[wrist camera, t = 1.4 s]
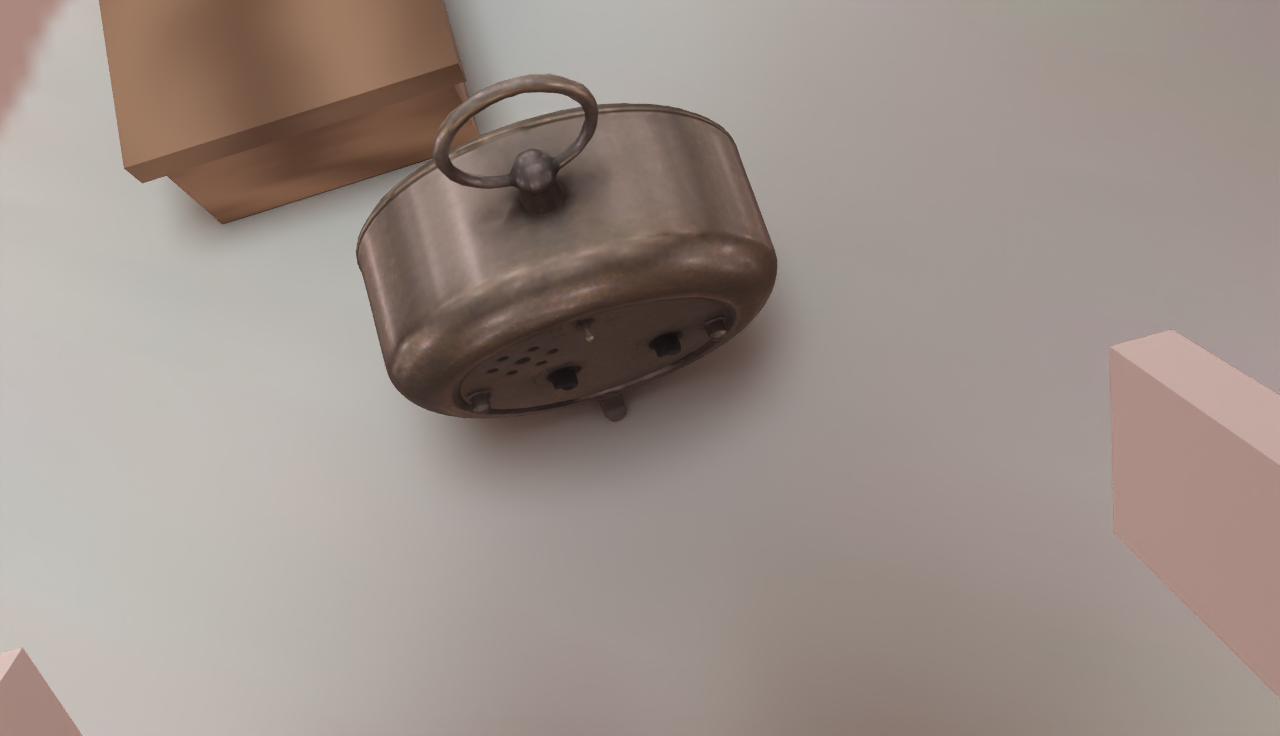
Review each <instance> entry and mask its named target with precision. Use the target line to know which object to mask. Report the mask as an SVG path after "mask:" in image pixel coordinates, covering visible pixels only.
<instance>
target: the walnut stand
mask: <svg viewBox="0 0 1280 736" xmlns="http://www.w3.org/2000/svg"><path fill="white" fill-rule="evenodd" d="M99 4H100V10H101V17H102V24H103V30H104V37H105V44H106V51H107V57H108V64H109V71H110V77H111V84H112V91H113V98H114V104H115V111H116V118H117V124H118V131H119V138H120V144H121V151H122V158H123V165H124V169H126V170H127V171H128V172H129V173H130V174H132V175H133V176H134V177H135V178H137V179H138V180H139V181H140V182H141V183H145V182H148V181H151V180H154V179H157V178H161V177H164V176H168V177H169V178H170V179H171V180H172V181H173V182H175V183H176V184H177V185H178V186H179V187H180V188H182V189H183V190H184V191H185V192H186V193H187V194H188V195H190V196H191V197H192V198H193V199H194V200H195V201H197V202H198V203H199V204H200V205H201V206H202V207H203V208H205V209H206V210H207V211H208V212H209V213H210V214H212V215H213V216H214V217H215V218H216V219H217V220H218V221H220V222H221V223H222V224H224V223H227V222H230V221H233V220H236V219H240V218H243V217H246V216H249V215H252V214H255V213H259V212H262V211H265V210H268V209H271V208H274V207H278V206H281V205H284V204H287V203H290V202H294V201H297V200H300V199H303V198H306V197H309V196H313V195H316V194H319V193H322V192H325V191H328V190H332V189H335V188H338V187H341V186H344V185H348V184H351V183H354V182H357V181H360V180H363V179H367V178H370V177H373V176H376V175H379V174H382V173H386V172H389V171H392V170H395V169H398V168H402V167H405V166H408V165H411V164H414V163H417V162H421V161H424V160H427V159H430V158H433V152H432V151H433V147H434V139H435V137H436V135H437V133H438V131H439V128H440V126H441V125H442V123H443V122H444V121H445V119H446V118H447V117H448V115H449V114H450V113H451V112H452V111H453V110H454V109H456V108H457V107H458V106H459V105H461V104H462V103H463V102H465V101H466V100H467V99H468V98H469V97H468V94H467V90H466V87H465V83H464V82H466V78H465V74H464V71H463V67H462V64H461V60H460V57H459V53H458V50H457V46H456V43H455V39H454V36H453V32H452V29H451V25H450V22H449V18H448V15H447V11H446V8H445V4H444V1H443V0H99ZM478 136H479V133H478V129H477V125H476V122H475V118H474V116H473V117H471V118H470V119H469V120H468V121H467V122H466V123H465V124H464V125H463V126H462V127H461V128H460V129H459V131H458V132H457V134H456V135H455V137H454V139H453V141H452V143H451V145H450V149H449V150H451V149H453V148H455V147H457V146H459V145H461V144H463V143H465V142H467V141H470V140H472V139H474V138H476V137H478Z"/></svg>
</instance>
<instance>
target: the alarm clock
mask: <svg viewBox="0 0 1280 736" xmlns="http://www.w3.org/2000/svg"><path fill="white" fill-rule="evenodd" d="M530 92H546V93H559V94H563V95H566V96H569V97H570V98H572V99H573V100H575V101H577V102H579V104H580V105H581V106H582V107H578V108H572V109H567V110H560V111H557V112H553V113H549V114H545V115H541V116H537V117H534V118H530V119H526V120H522V121H519V122H516V123H513V124H510V125H508V126H505V127H502V128H499V129H496V130H494V131H491V132H488V133H486V134H483V135H481V136H478V137H476V138H474V139H472V140H470V141H467V142H465V143H463V144H461V145H459V146H457V147H455V148H453V149H451V150H449V149H450V145H451V143H452V141H453V139H454V137H455V135H456V134H457V132H458V131H459V129H460V128H461V127H462V126H463V125H464V124H465V123H466V122H467V121H468V120H469V119H470V118H471V117H473V116H474V115H476V114H477V113H479V112H480V111H482V110H484V109H485V108H487V107H488V106H490V105H492V104H494V103H496V102H498V101H500V100H503V99H505V98H508V97H513V96H515V95H518V94H521V93H530ZM432 152H433V158H434V159H433V160H431V161H430V162H428V163H426V164H425V165H423V166H422V167H420V168H419V169H417V170H416V171H414V172H413V173H411V174H410V175H409V176H407V177H406V178H405V179H403V180H402V181H401V182H399V183H398V184H397V185H395V186H394V187H393V188H392V189H391V190H390V191H389V192H388V193H387V194H386V195H385V196H384V197H383V198H382V199H381V200H380V202H379V203H378V204H377V205H376V207H375V208H374V210H373V211H372V213H371V214H370V216H369V217H368V219H367V221H366V222H365V224H364V226H363V228H362V230H361V232H360V235H359V237H358V243H357V249H356V256H357V263H358V265H359V268H360V270H361V272H362V275H363V279H364V282H365V286H366V290H367V294H368V298H369V302H370V306H371V310H372V313H373V318H374V322H375V326H376V330H377V334H378V338H379V342H380V346H381V350H382V354H383V358H384V362H385V366H386V369H387V373H388V375H389V378H390V380H391V382H392V383H393V385H394V386H395V388H396V389H397V390H398V391H399V392H400V393H401V394H402V395H403V396H405V397H406V398H407V399H408V400H410V401H411V402H413V403H414V404H416V405H418V406H420V407H422V408H425V409H427V410H429V411H433V412H436V413H440V414H444V415H448V416H455V417H462V418H500V417H511V416H520V415H527V414H534V413H539V412H545V411H551V410H555V409H560V408H564V407H568V406H573V405H577V404H581V403H584V402H588V401H591V400H599V401H600V403H601V406H602V409H603V411H604V413H605V415H606V417H607V418H609V419H610V420H611V421H619V420H621V419H623V418H624V417H625V415H626V408H625V406H624V402H623V399H622V392H623V391H625V390H627V389H630V388H633V387H636V386H639V385H641V384H644V383H646V382H649V381H651V380H654V379H656V378H659V377H661V376H664V375H666V374H669V373H671V372H673V371H675V370H677V369H679V368H682V367H684V366H686V365H688V364H690V363H692V362H694V361H695V360H697V359H699V358H701V357H703V356H705V355H706V354H708V353H710V352H711V351H713V350H715V349H716V348H718V347H719V346H721V345H722V344H724V343H725V342H727V341H728V340H730V339H731V338H732V337H734V336H735V335H736V334H738V333H739V332H740V331H741V330H742V329H743V328H745V327H746V326H747V325H748V324H749V323H750V322H751V321H752V320H753V318H754V317H755V316H756V315H757V314H758V313H759V312H760V311H761V309H762V308H763V306H764V305H765V303H766V301H767V300H768V298H769V296H770V294H771V292H772V289H773V286H774V283H775V279H776V275H777V257H776V254H775V250H774V247H773V244H772V242H771V239H770V236H769V234H768V231H767V228H766V226H765V223H764V220H763V217H762V215H761V212H760V209H759V207H758V204H757V201H756V199H755V196H754V193H753V191H752V188H751V185H750V183H749V180H748V177H747V175H746V172H745V169H744V166H743V164H742V161H741V158H740V155H739V152H738V149H737V146H736V144H735V142H734V140H733V139H732V137H731V136H730V135H729V133H728V132H727V131H726V130H725V129H724V128H723V127H722V126H720V125H719V124H717V123H715V122H713V121H712V120H710V119H708V118H706V117H704V116H701V115H699V114H696V113H692V112H689V111H686V110H683V109H680V108H674V107H670V106H661V105H653V104H627V103H621V104H600V105H597V103H596V101H595V98H594V97H593V95H592V94H591V92H590V91H589V90H588V89H587V88H586V87H585V86H584V85H583V84H581V83H578V82H576V81H573V80H570V79H567V78H564V77H560V76H556V75H551V74H530V75H526V76H521V77H517V78H513V79H509V80H506V81H502V82H498V83H496V84H494V85H492V86H490V87H488V88H485V89H483V90H481V91H479V92H477V93H476V94H474V95H473V96H471V97H470V98H468V99H467V100H466V101H465V102H463V103H462V104H461V105H459V106H458V107H457V108H456V109H454V110H453V111H452V112H451V113H450V114H449V115H448V117H447V118H446V119H445V121H444V122H443V123H442V125H441V126H440V128H439V131H438V133H437V135H436V137H435V139H434V147H433V151H432Z"/></svg>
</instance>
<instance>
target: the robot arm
mask: <svg viewBox="0 0 1280 736" xmlns="http://www.w3.org/2000/svg"><path fill="white" fill-rule="evenodd" d="M1109 347H1110V390H1111V432H1112V474H1113V517H1114V533H1115V534H1116V535H1117V536H1118V537H1119V538H1120V539H1121V540H1122V541H1123V542H1124V543H1125V544H1126V545H1127V546H1128V547H1129V548H1130V549H1131V550H1132V551H1133V552H1134V553H1135V554H1136V555H1137V556H1138V557H1139V558H1140V559H1141V560H1142V561H1143V562H1144V563H1145V564H1146V565H1147V566H1148V567H1149V568H1150V569H1151V570H1152V571H1153V572H1154V573H1155V574H1156V575H1157V576H1158V577H1159V578H1160V579H1161V580H1162V581H1163V582H1164V583H1165V584H1166V585H1167V586H1168V587H1169V588H1170V589H1171V590H1172V591H1173V592H1174V593H1175V594H1176V595H1177V596H1178V597H1179V598H1180V599H1181V600H1182V601H1183V602H1184V603H1185V604H1186V605H1187V606H1188V607H1189V608H1190V609H1191V610H1192V611H1193V612H1194V613H1195V614H1196V615H1197V616H1198V617H1199V618H1200V619H1201V620H1202V621H1203V622H1204V623H1205V624H1206V625H1207V626H1208V627H1209V628H1210V629H1211V630H1212V631H1213V632H1214V633H1215V634H1216V635H1217V636H1218V637H1219V638H1220V639H1221V640H1222V641H1223V642H1224V643H1225V644H1226V645H1227V646H1228V647H1229V648H1230V649H1231V650H1232V651H1233V652H1234V653H1235V654H1236V655H1237V656H1238V657H1239V658H1240V659H1241V660H1242V661H1243V662H1244V663H1245V664H1246V665H1247V666H1248V667H1249V668H1250V669H1251V670H1252V671H1253V672H1254V673H1255V674H1256V675H1257V676H1258V677H1259V678H1260V679H1261V680H1262V681H1263V682H1264V683H1265V684H1266V685H1267V686H1268V687H1269V688H1270V689H1271V690H1272V691H1273V692H1274V693H1275V694H1276V695H1277V696H1278V697H1279V698H1280V395H1279V394H1277V393H1275V392H1274V391H1272V390H1270V389H1269V388H1267V387H1266V386H1264V385H1262V384H1261V383H1259V382H1257V381H1256V380H1254V379H1252V378H1251V377H1249V376H1247V375H1246V374H1244V373H1242V372H1241V371H1239V370H1238V369H1236V368H1234V367H1233V366H1231V365H1229V364H1228V363H1226V362H1224V361H1223V360H1221V359H1219V358H1218V357H1216V356H1215V355H1213V354H1211V353H1210V352H1208V351H1206V350H1205V349H1203V348H1201V347H1200V346H1198V345H1196V344H1195V343H1193V342H1192V341H1190V340H1188V339H1187V338H1185V337H1183V336H1182V335H1180V334H1178V333H1177V332H1175V331H1173V330H1172V329H1171V330H1167V331H1163V332H1160V333H1156V334H1153V335H1149V336H1145V337H1142V338H1138V339H1135V340H1131V341H1127V342H1124V343H1120V344H1117V345H1113V346H1109ZM0 736H82V734H81V733H80V731H79V730H78V728H77V727H76V725H75V724H74V722H73V721H72V719H71V718H70V716H69V715H68V714H67V712H66V711H65V709H64V708H63V706H62V705H61V703H60V702H59V700H58V699H57V697H56V696H55V694H54V693H53V691H52V690H51V688H50V687H49V686H48V684H47V683H46V681H45V680H44V678H43V677H42V675H41V674H40V672H39V671H38V669H37V668H36V666H35V665H34V663H33V662H32V660H31V659H30V658H29V656H28V655H27V653H26V652H25V650H24V649H23V647H22V648H19V649H15V650H11V651H8V652H4V653H1V654H0Z"/></svg>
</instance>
